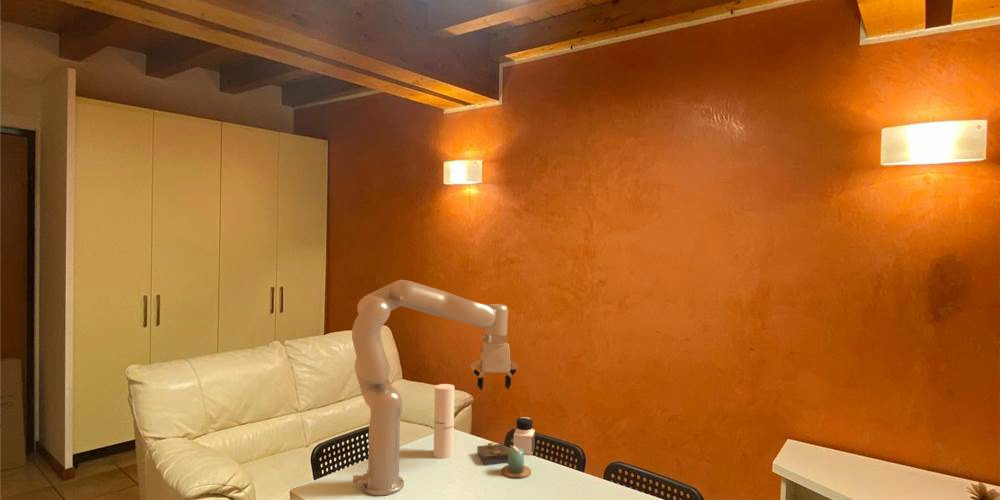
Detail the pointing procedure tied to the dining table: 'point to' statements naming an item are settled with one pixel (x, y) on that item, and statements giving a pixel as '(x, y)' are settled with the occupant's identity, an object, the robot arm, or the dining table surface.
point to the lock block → (493, 454)
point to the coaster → (516, 476)
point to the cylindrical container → (444, 421)
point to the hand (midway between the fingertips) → (493, 388)
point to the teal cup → (516, 460)
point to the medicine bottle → (524, 435)
